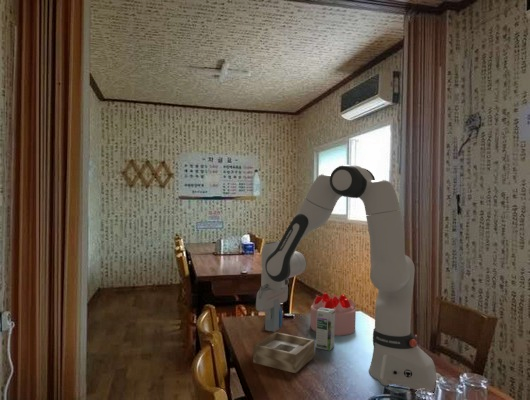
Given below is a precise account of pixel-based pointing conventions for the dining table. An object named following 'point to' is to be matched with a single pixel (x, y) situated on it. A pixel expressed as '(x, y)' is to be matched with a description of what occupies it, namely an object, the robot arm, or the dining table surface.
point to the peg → (273, 318)
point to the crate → (284, 352)
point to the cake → (336, 313)
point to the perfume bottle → (280, 316)
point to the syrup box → (325, 328)
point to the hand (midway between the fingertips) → (272, 317)
